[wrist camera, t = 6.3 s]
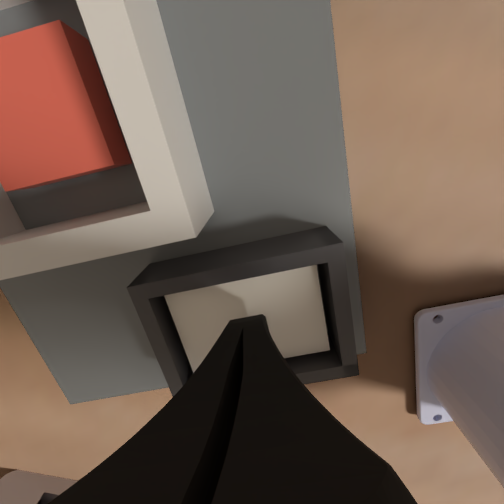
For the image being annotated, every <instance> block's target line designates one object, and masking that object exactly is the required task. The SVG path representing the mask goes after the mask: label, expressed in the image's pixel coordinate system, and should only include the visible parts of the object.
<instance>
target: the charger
mask: <svg viewBox="0 0 504 504" xmlns="http://www.w3.org/2000/svg"><path fill="white" fill-rule="evenodd" d="M76 482H77V480H71V479H66V478H60V477H55V476H49V475H44V474H38V473H33V472H27V471H22V470H15V471H12V472H9V473H7V474H5V475H4V476H3V477H2V478H1V479H0V504H48V503H49V502H51V501H52V500H53V499H55V498H56V497H57V496H59V495H60V494H61V493H63V492H64V491H65V490H67V489H68V488H69V487H71V486H72V485H73V484H75V483H76Z"/></svg>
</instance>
